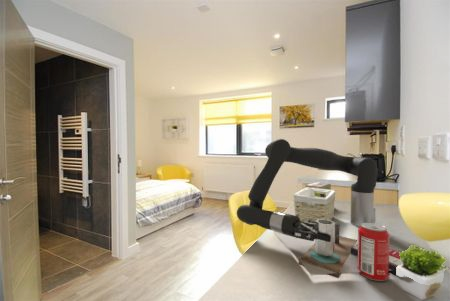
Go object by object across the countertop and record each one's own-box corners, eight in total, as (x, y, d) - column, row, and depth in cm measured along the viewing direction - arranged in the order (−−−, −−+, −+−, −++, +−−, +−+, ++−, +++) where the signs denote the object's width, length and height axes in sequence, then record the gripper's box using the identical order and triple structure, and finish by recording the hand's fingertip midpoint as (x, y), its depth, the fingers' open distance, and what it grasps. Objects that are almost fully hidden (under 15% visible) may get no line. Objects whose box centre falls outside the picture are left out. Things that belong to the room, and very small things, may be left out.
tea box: (315, 203, 150) (316, 181, 150) (331, 206, 143) (331, 183, 143) (304, 207, 140) (305, 184, 140) (320, 211, 133) (321, 186, 133)
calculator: (403, 267, 66) (350, 245, 78) (401, 281, 66) (349, 257, 79) (415, 257, 72) (365, 238, 85) (414, 269, 73) (364, 249, 85)
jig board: (325, 235, 97) (325, 216, 97) (357, 243, 89) (357, 222, 89) (298, 264, 74) (298, 238, 74) (338, 278, 66) (339, 249, 66)
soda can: (359, 279, 66) (360, 228, 65) (355, 266, 73) (356, 220, 72) (391, 286, 62) (393, 232, 62) (385, 271, 70) (386, 223, 69)
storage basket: (326, 230, 103) (326, 198, 103) (291, 223, 113) (292, 193, 113) (336, 217, 123) (336, 190, 123) (305, 211, 132) (306, 186, 132)
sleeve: (327, 247, 79) (328, 218, 78) (337, 255, 73) (338, 224, 73) (312, 247, 78) (313, 219, 78) (320, 255, 73) (321, 225, 72)
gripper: (276, 218, 79) (327, 230, 68) (292, 209, 90) (338, 218, 79) (275, 239, 79) (326, 255, 68) (292, 228, 90) (338, 239, 79)
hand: (333, 235), depth 74 cm, fingers closed on sleeve, 5 cm apart
